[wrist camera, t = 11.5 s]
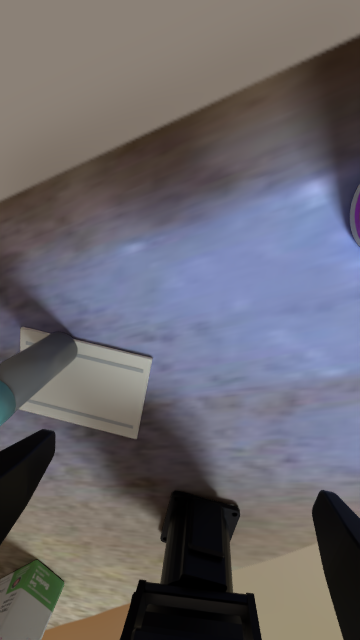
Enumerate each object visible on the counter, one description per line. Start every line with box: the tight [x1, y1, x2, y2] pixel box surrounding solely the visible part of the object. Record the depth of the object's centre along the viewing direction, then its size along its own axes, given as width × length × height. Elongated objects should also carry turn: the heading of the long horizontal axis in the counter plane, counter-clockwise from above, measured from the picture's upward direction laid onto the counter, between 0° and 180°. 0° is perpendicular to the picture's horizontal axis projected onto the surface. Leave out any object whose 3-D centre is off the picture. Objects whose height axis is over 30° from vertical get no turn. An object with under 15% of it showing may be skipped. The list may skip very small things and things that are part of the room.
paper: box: [19, 327, 153, 439], centre depth 22 cm, size 8×11×1 cm
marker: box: [0, 332, 78, 426], centre depth 17 cm, size 3×3×9 cm
